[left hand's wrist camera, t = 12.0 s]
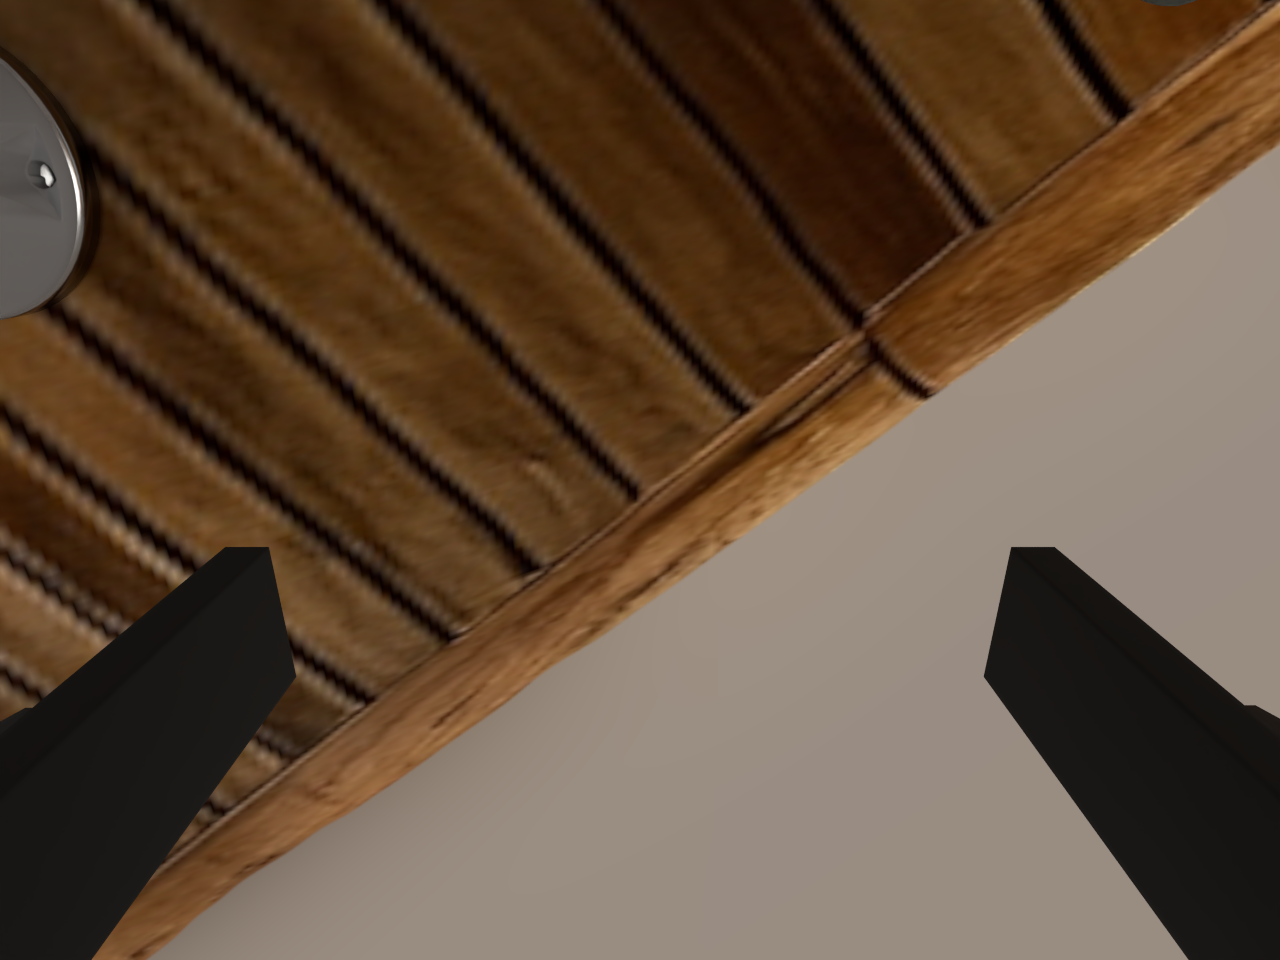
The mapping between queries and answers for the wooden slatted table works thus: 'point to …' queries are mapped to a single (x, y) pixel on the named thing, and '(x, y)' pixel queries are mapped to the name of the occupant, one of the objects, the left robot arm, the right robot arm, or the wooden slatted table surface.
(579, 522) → the wooden slatted table surface
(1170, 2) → the ballet flat
